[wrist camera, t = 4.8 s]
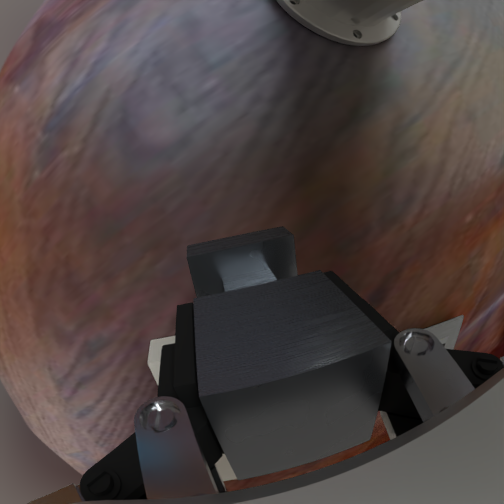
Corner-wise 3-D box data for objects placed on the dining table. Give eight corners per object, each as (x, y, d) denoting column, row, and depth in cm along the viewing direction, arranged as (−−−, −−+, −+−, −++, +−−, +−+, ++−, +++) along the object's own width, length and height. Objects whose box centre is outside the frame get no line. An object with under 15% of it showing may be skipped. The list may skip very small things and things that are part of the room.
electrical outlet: (453, 309, 30) (465, 317, 28) (431, 373, 33) (441, 383, 31) (372, 333, 27) (385, 345, 25) (355, 403, 30) (364, 416, 28)
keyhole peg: (187, 245, 13) (185, 391, 5) (283, 226, 13) (399, 330, 5) (208, 327, 14) (232, 483, 6) (291, 308, 15) (374, 440, 7)
